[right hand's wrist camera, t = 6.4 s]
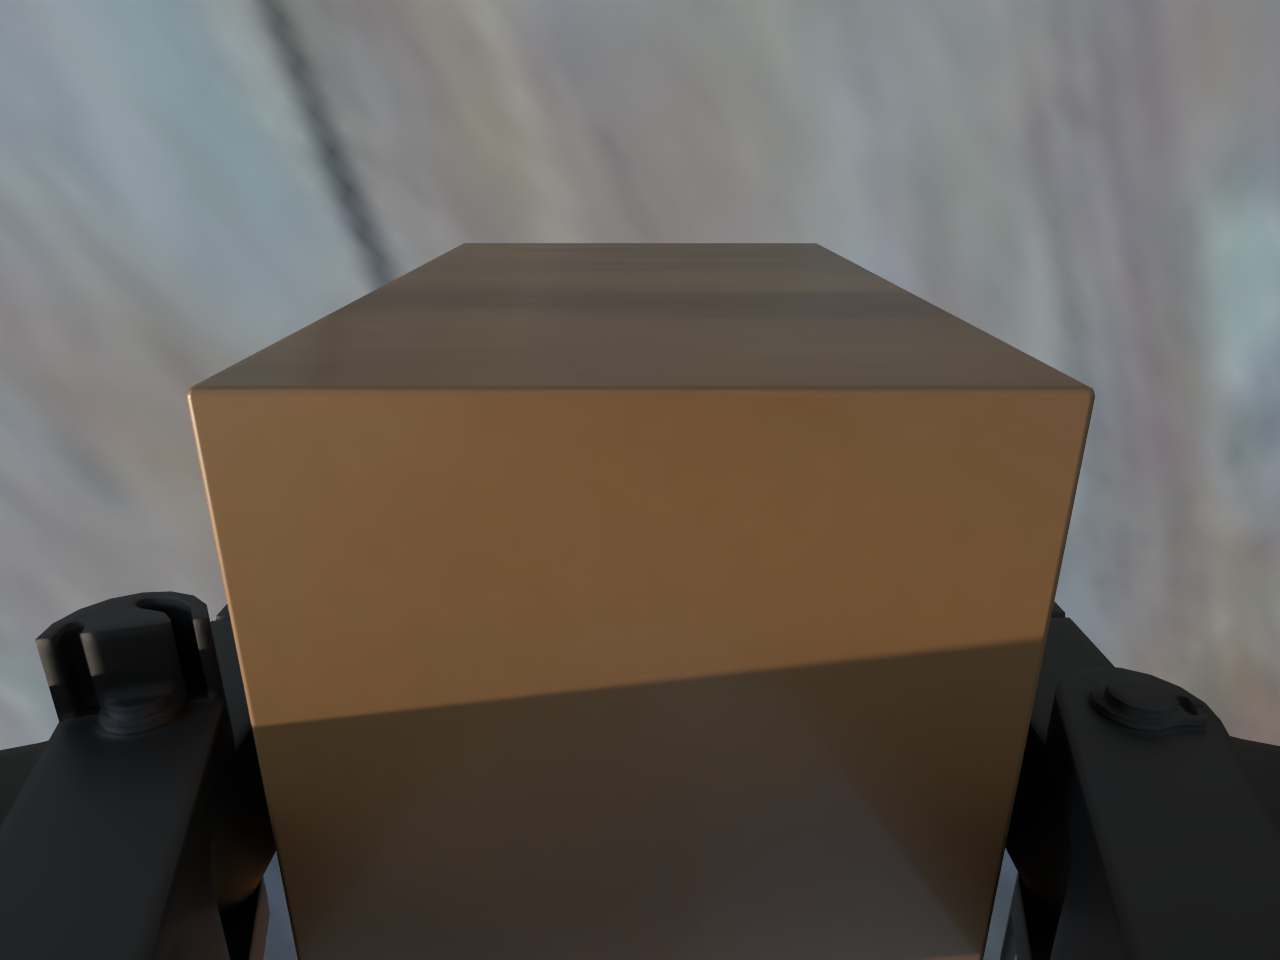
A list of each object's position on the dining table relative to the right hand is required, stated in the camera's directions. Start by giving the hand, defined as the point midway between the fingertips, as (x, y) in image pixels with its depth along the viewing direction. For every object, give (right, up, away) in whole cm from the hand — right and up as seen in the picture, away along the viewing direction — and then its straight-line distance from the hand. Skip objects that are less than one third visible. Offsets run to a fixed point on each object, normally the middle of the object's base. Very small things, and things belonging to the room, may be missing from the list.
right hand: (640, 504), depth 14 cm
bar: (0, -6, +3) cm, 7 cm away
